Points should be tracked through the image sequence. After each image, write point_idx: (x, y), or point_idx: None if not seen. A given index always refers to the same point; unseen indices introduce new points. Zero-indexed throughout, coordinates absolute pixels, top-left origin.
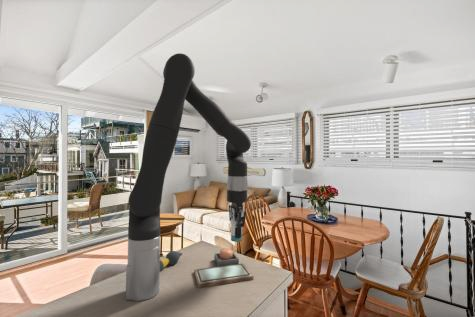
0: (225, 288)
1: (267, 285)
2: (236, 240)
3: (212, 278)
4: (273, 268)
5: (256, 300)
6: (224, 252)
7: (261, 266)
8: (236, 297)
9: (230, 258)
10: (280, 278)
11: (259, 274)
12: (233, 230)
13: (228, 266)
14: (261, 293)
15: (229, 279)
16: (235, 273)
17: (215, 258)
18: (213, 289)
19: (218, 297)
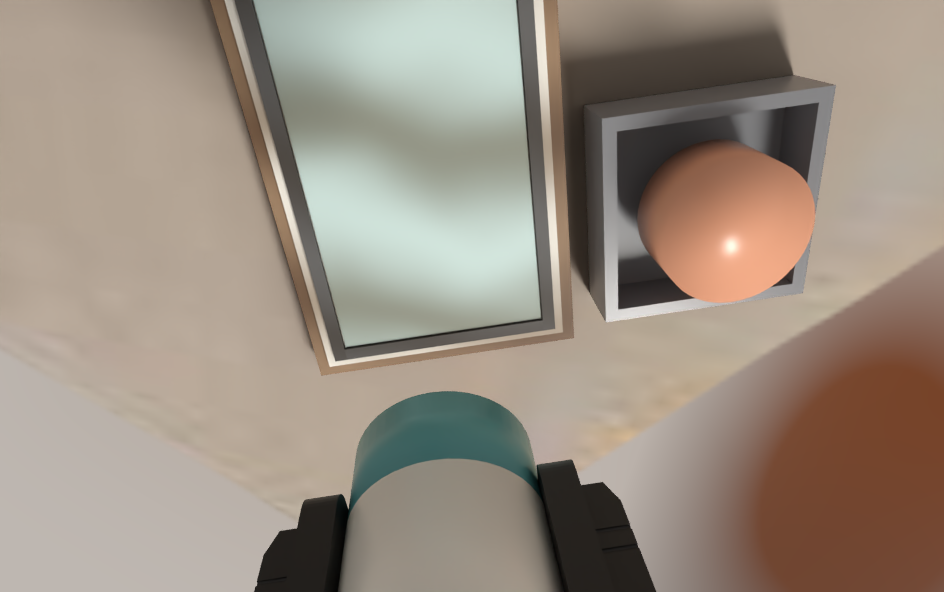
0: (175, 127)
1: (232, 429)
2: (355, 470)
3: (278, 11)
4: None
5: (19, 329)
6: (700, 209)
7: None
8: (37, 200)
9: (647, 249)
10: None
11: None
12: (361, 575)
13: (524, 206)
14: (119, 375)
15: (273, 183)
16: (369, 250)
17: (756, 88)
18: (150, 9)
19: (12, 46)
